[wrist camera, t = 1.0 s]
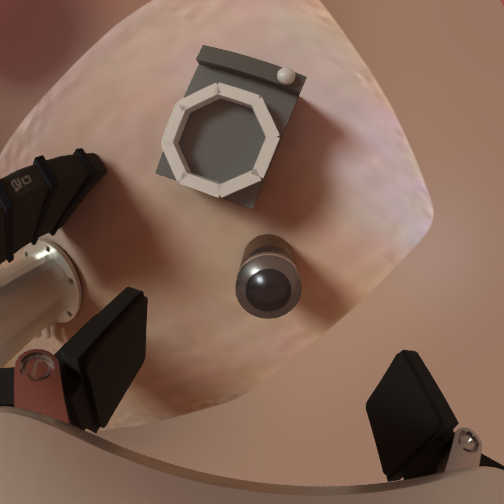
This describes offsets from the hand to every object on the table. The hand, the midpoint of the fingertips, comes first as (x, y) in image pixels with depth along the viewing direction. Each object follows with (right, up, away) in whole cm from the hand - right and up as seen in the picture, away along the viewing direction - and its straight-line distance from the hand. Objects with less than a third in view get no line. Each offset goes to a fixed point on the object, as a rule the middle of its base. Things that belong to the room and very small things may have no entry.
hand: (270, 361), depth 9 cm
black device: (-23, +10, +20) cm, 32 cm away
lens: (+1, +3, +21) cm, 21 cm away
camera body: (-2, +16, +17) cm, 23 cm away
